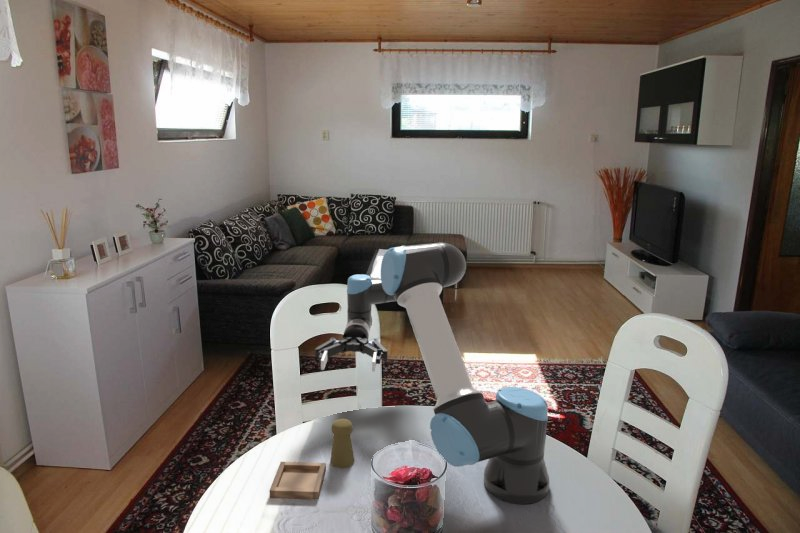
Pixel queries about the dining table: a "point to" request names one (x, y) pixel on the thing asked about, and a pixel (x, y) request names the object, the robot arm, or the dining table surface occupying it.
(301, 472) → the tray
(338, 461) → the cork
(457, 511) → the dining table surface
